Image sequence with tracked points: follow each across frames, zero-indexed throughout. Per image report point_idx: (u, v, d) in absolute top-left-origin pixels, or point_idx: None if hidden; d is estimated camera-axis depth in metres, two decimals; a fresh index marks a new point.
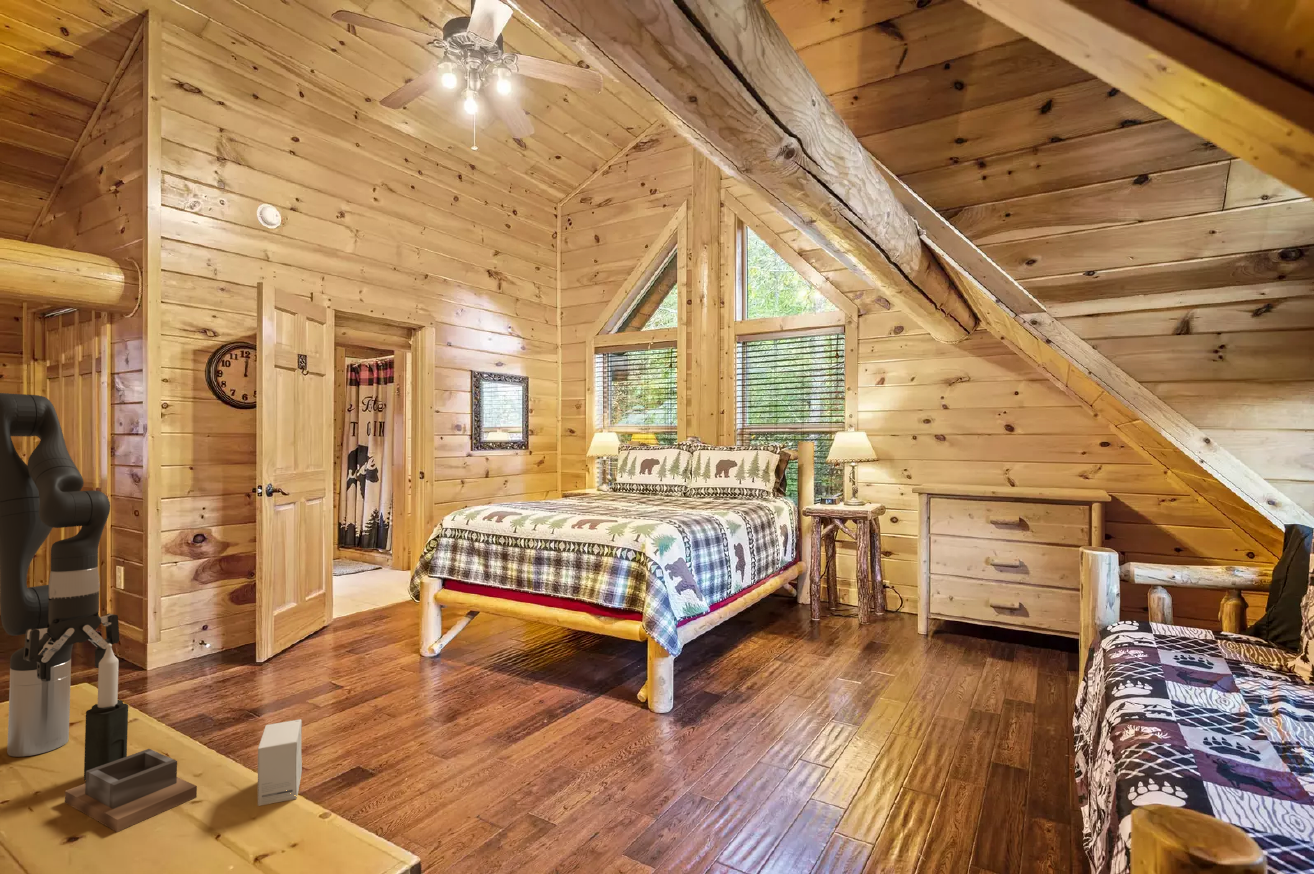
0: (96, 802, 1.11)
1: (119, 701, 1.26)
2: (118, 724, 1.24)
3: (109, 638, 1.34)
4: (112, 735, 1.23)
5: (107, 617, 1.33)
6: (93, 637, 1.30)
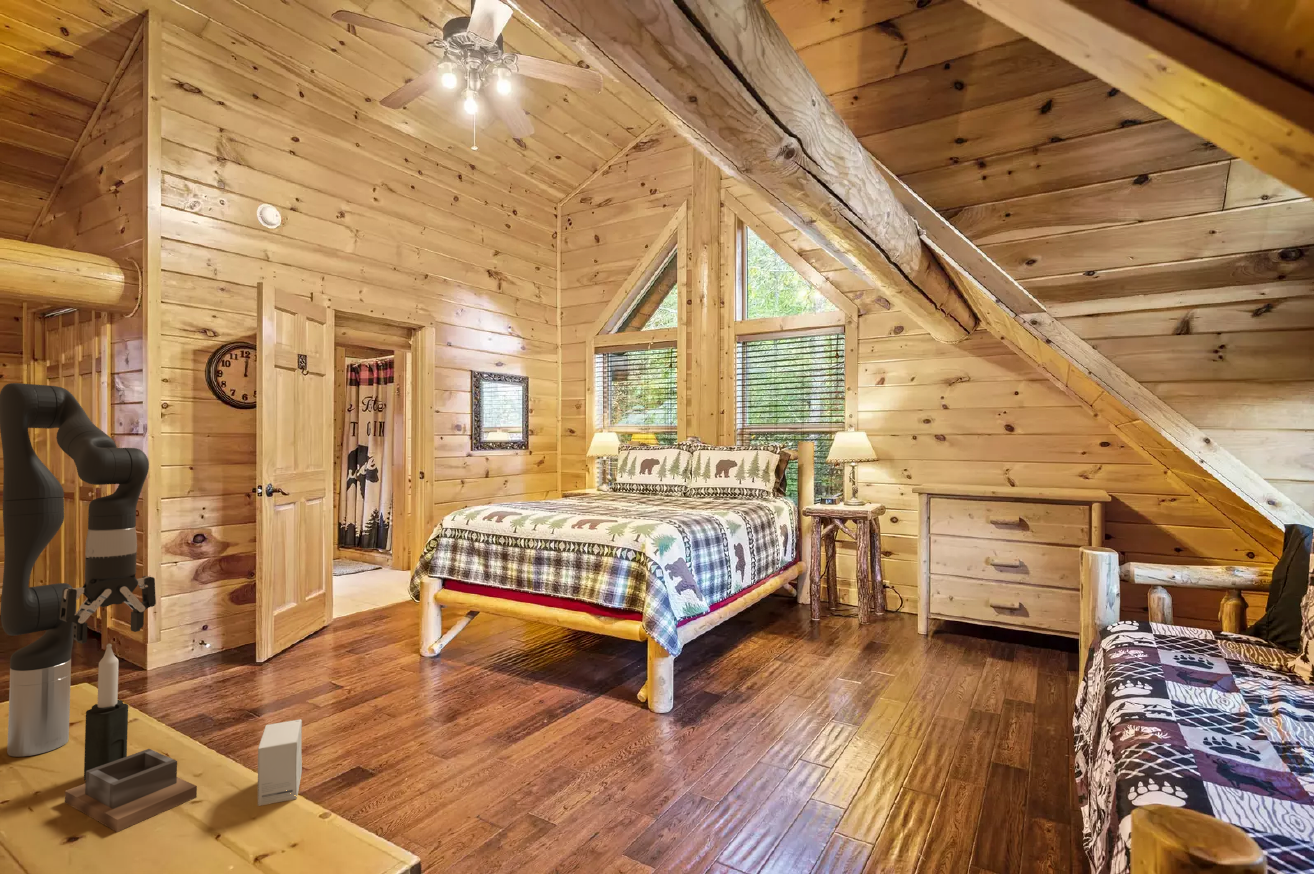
0: (96, 802, 1.11)
1: (119, 701, 1.26)
2: (118, 724, 1.24)
3: (145, 601, 1.30)
4: (112, 735, 1.23)
5: (144, 579, 1.29)
6: (130, 599, 1.26)
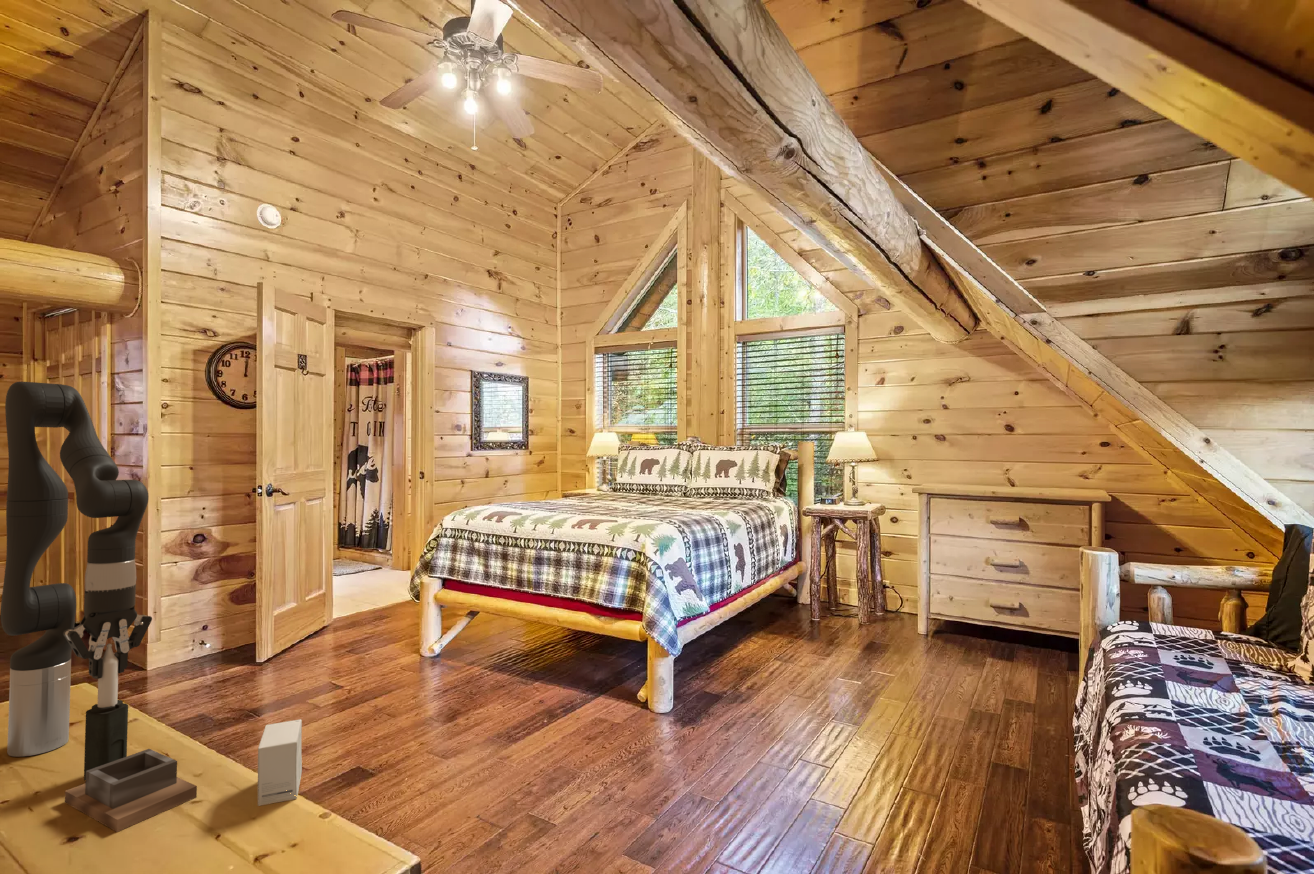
0: (96, 802, 1.11)
1: (119, 701, 1.26)
2: (118, 724, 1.24)
3: (129, 641, 1.27)
4: (112, 735, 1.23)
5: (142, 616, 1.29)
6: (122, 635, 1.25)
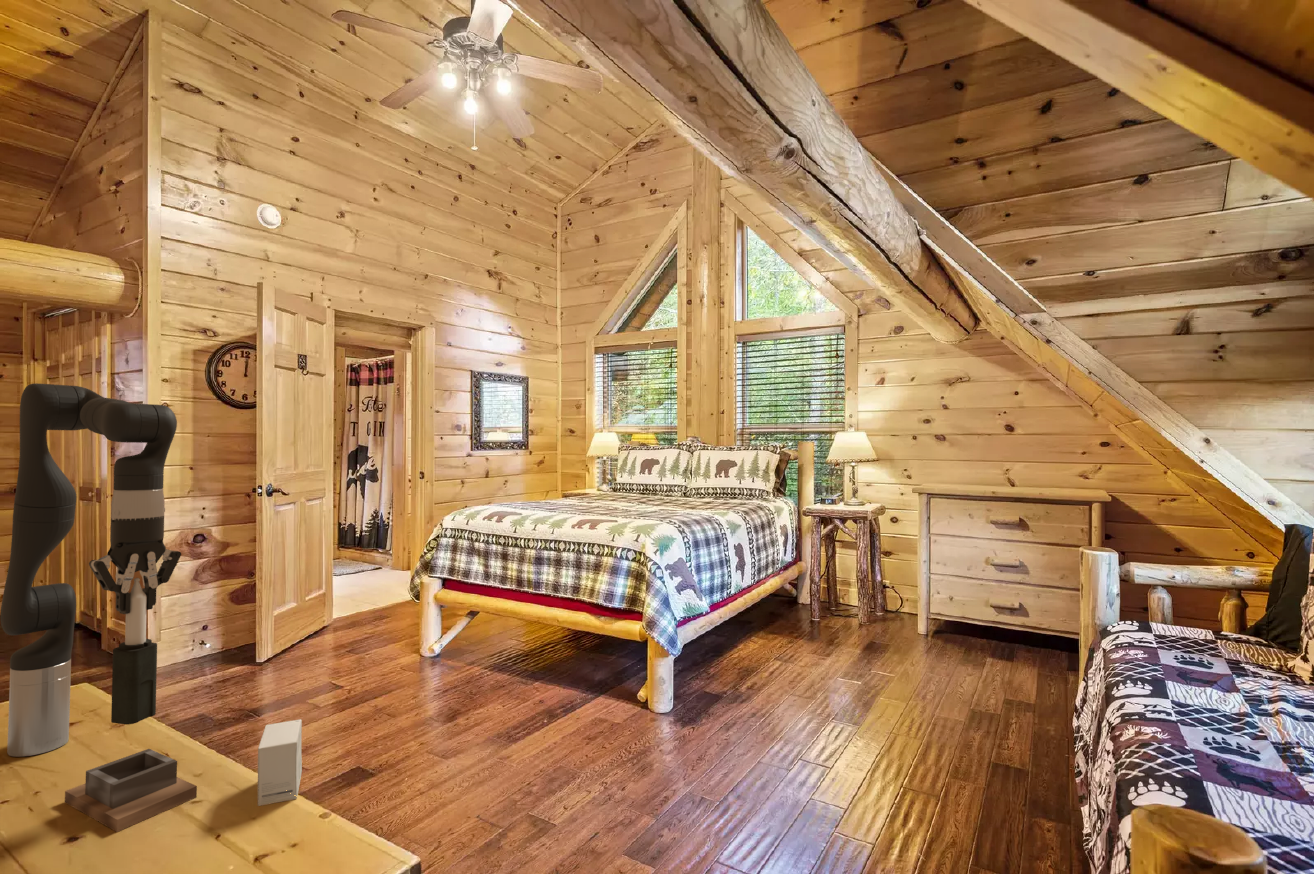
0: (96, 802, 1.11)
1: (147, 640, 1.18)
2: (147, 663, 1.16)
3: (158, 577, 1.20)
4: (141, 675, 1.15)
5: (171, 551, 1.21)
6: (150, 569, 1.17)
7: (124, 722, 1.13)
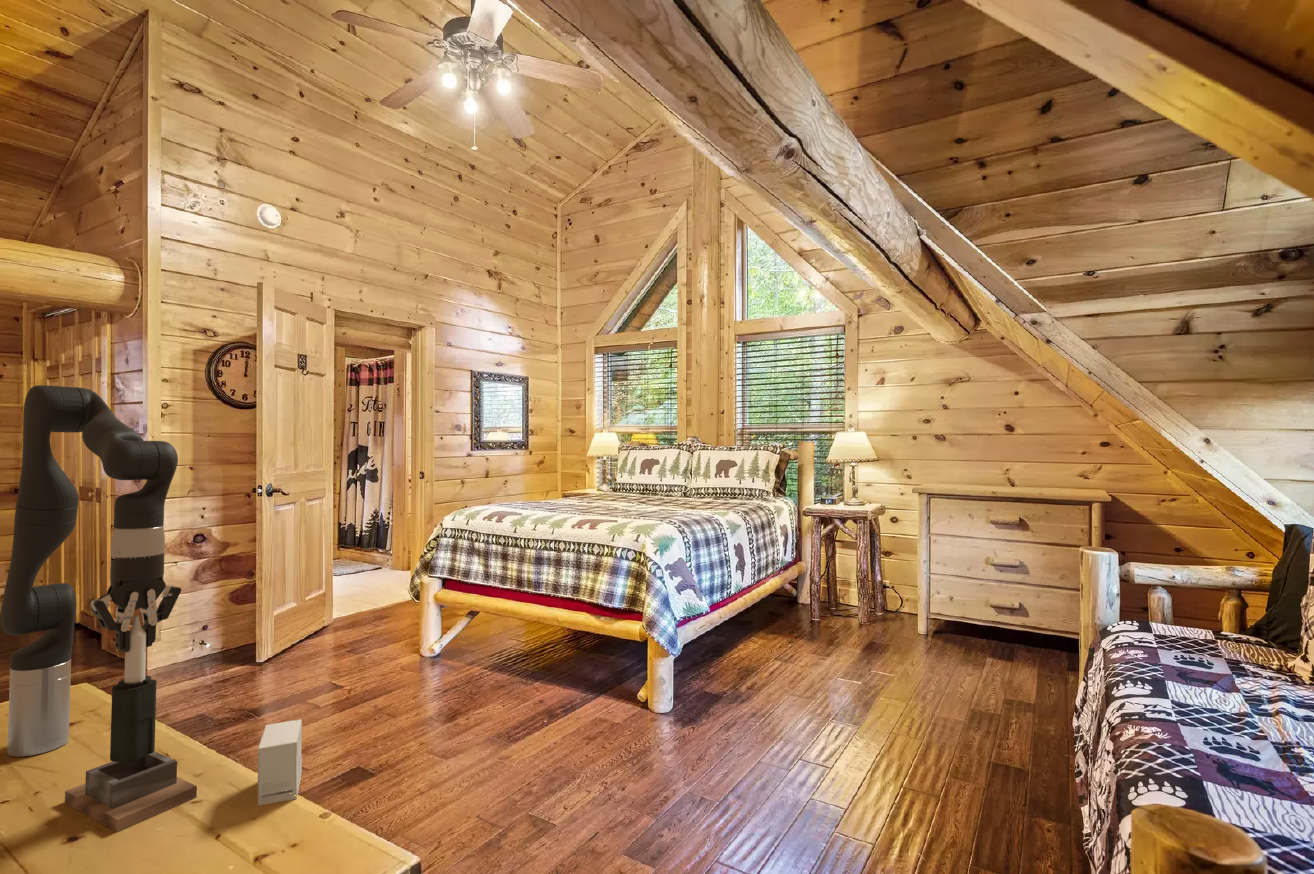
0: (96, 802, 1.11)
1: (147, 677, 1.18)
2: (146, 701, 1.16)
3: (157, 613, 1.19)
4: (140, 713, 1.15)
5: (171, 587, 1.21)
6: (150, 606, 1.17)
7: (123, 761, 1.13)
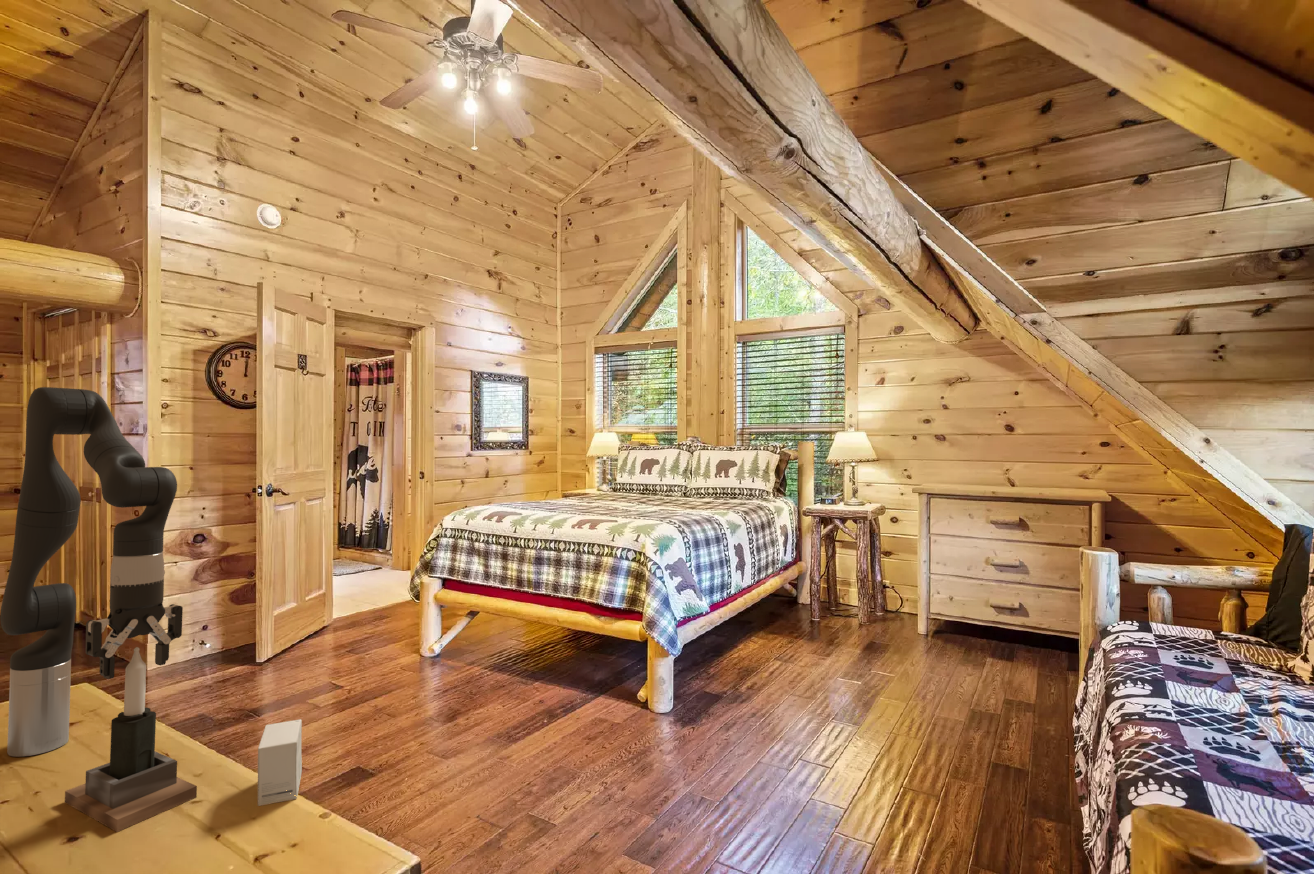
0: (96, 802, 1.11)
1: (146, 709, 1.18)
2: (145, 734, 1.16)
3: (170, 632, 1.21)
4: (139, 746, 1.15)
5: (171, 608, 1.21)
6: (156, 630, 1.17)
7: None
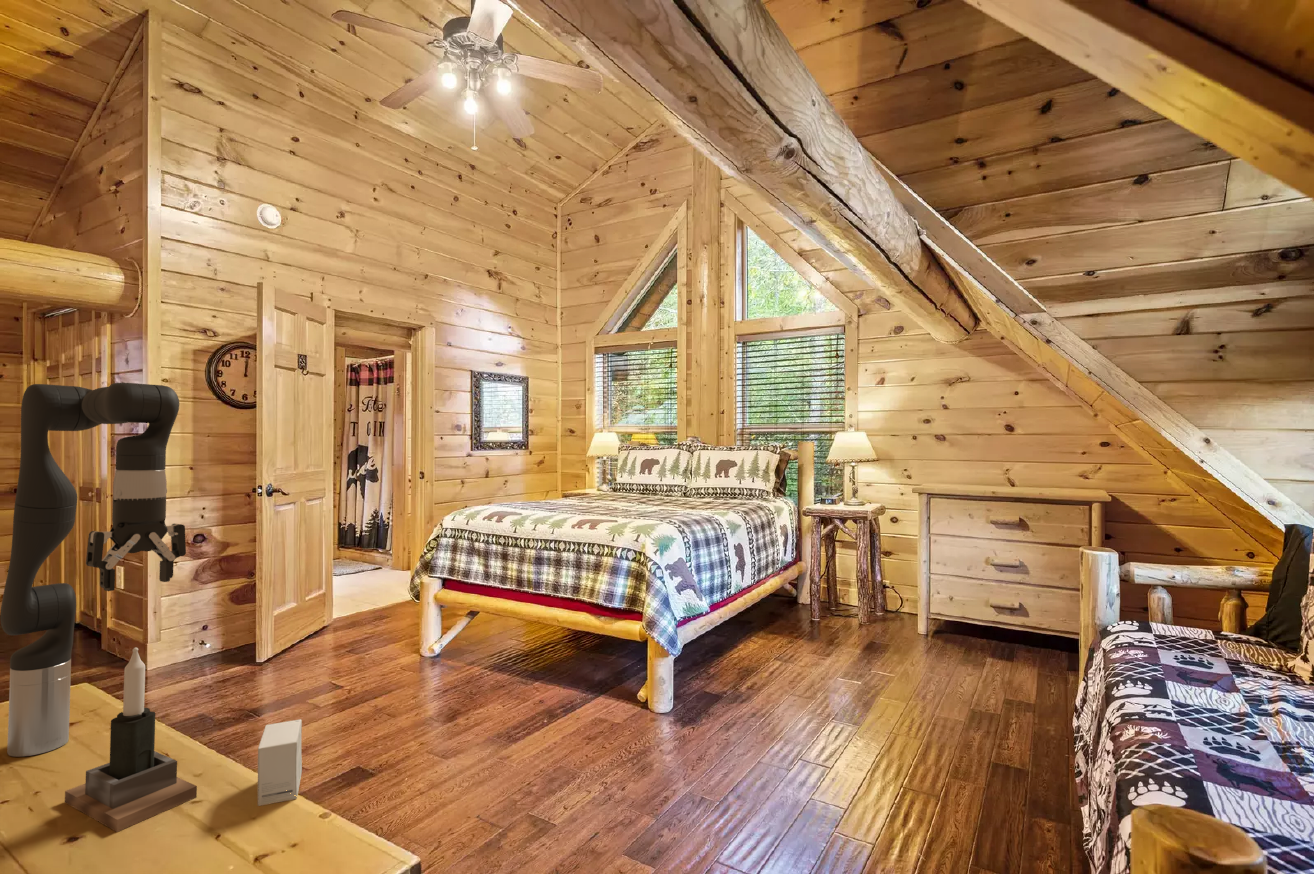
0: (96, 802, 1.11)
1: (146, 709, 1.18)
2: (145, 734, 1.16)
3: (175, 550, 1.22)
4: (139, 746, 1.15)
5: (173, 527, 1.21)
6: (159, 547, 1.18)
7: None
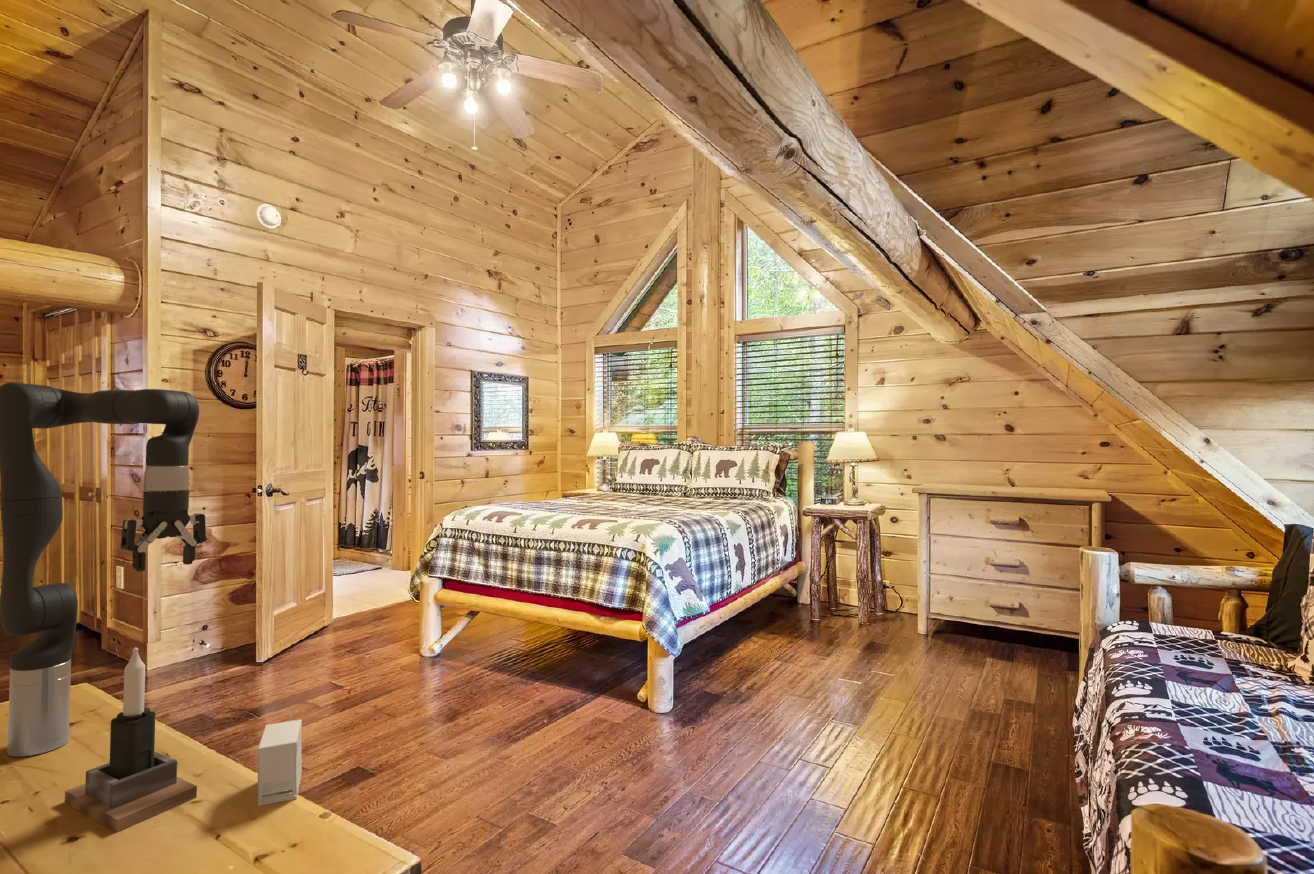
0: (96, 802, 1.11)
1: (146, 709, 1.18)
2: (145, 734, 1.16)
3: (196, 537, 1.38)
4: (139, 746, 1.15)
5: (195, 516, 1.37)
6: (183, 533, 1.34)
7: None
